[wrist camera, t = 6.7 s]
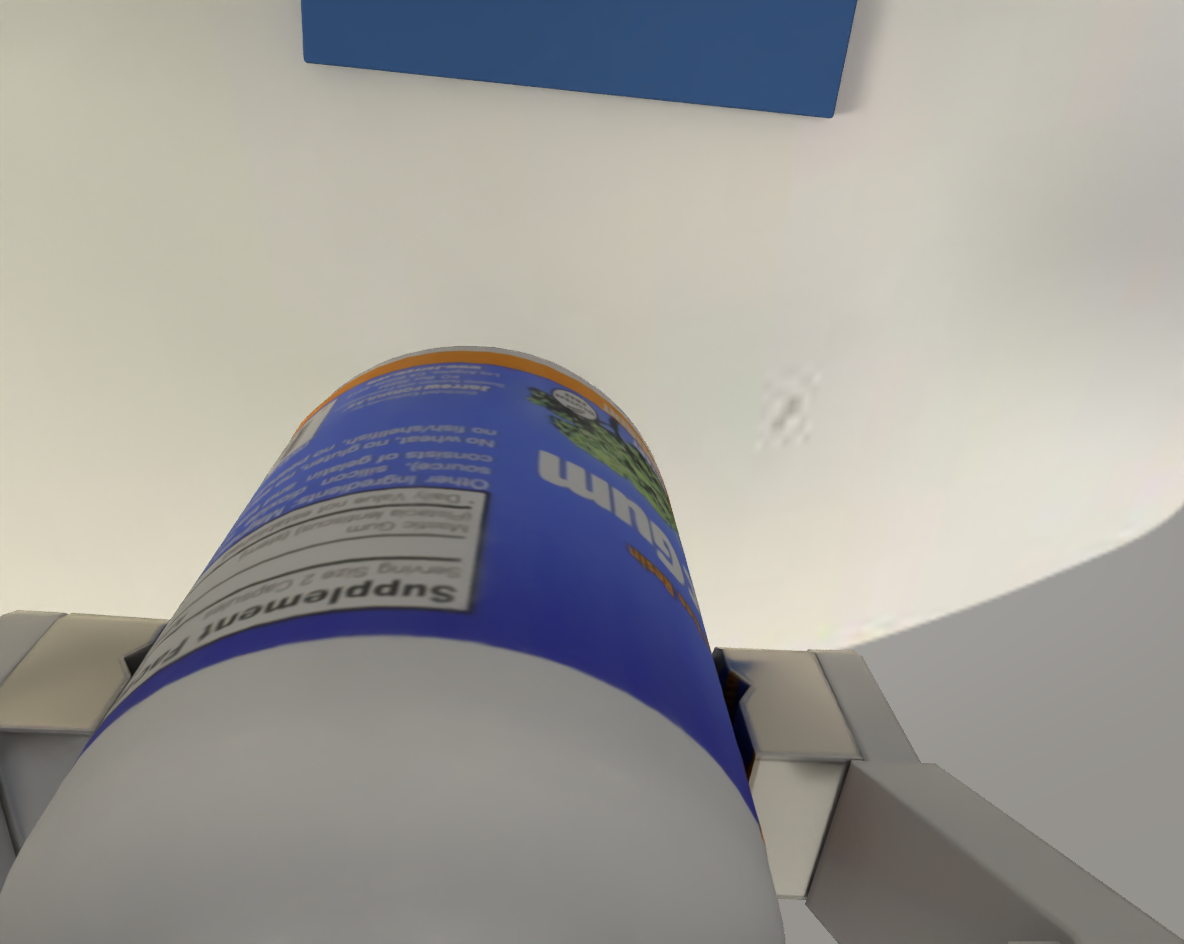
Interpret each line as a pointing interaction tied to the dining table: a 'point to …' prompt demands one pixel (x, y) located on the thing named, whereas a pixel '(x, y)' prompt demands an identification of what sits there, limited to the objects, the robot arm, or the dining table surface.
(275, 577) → the pill bottle
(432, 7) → the blue pad
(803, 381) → the dining table surface
